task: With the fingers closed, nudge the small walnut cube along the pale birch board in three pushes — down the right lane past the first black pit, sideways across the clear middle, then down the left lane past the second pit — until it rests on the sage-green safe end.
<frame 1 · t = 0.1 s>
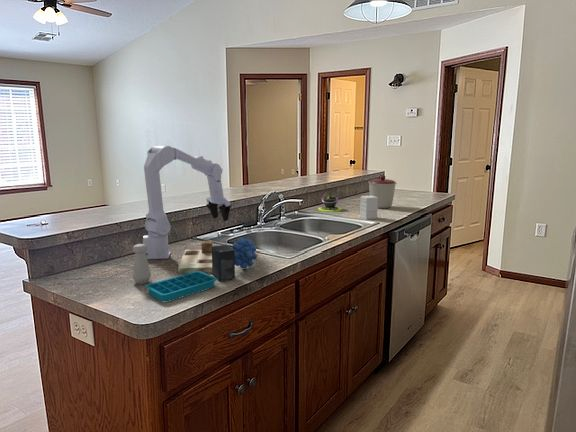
hand: (220, 219, 190), 10 cm above the worktop, tool pointing down, fingers open, 7 cm apart
walnut block: (207, 251, 170), point 2 cm above the worktop, touching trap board
toy cauldron: (329, 209, 270), on the worktop
ice cube tray: (182, 291, 135), on the worktop
canister: (381, 207, 277), on the worktop
salt shaker: (142, 282, 142), on the worktop
supplement box: (368, 218, 244), on the worktop
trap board: (198, 263, 162), on the worktop
grapes: (246, 269, 155), on the worktop
box: (223, 277, 147), on the worktop
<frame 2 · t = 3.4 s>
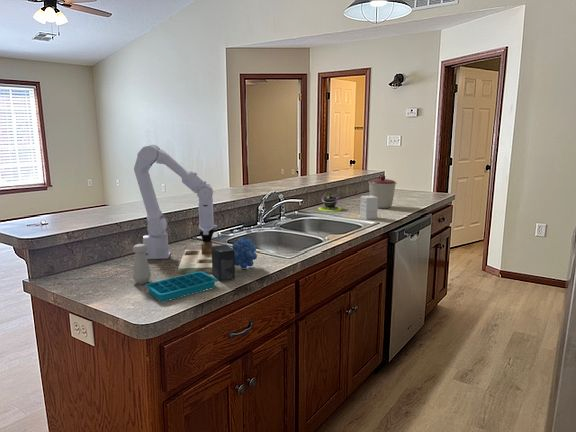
hand: (207, 247, 171), 3 cm above the worktop, tool pointing down, fingers closed
walnut block: (207, 252, 168), point 2 cm above the worktop, touching gripper
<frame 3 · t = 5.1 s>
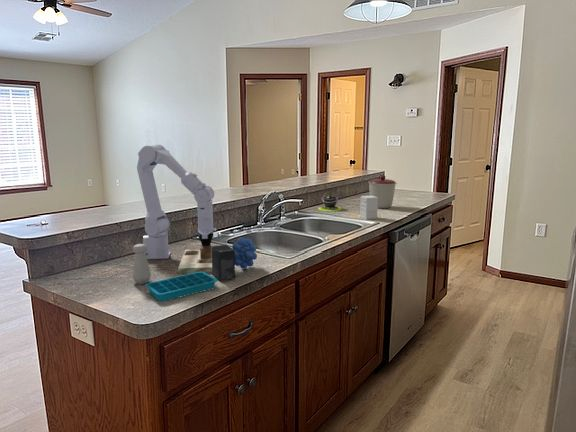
hand: (206, 252, 166), 3 cm above the worktop, tool pointing down, fingers closed
walnut block: (206, 257, 162), point 2 cm above the worktop, touching gripper, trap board
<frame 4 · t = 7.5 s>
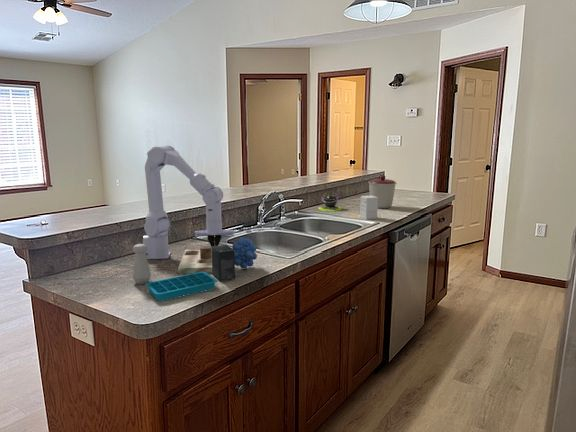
hand: (215, 254, 163), 3 cm above the worktop, tool pointing down, fingers closed
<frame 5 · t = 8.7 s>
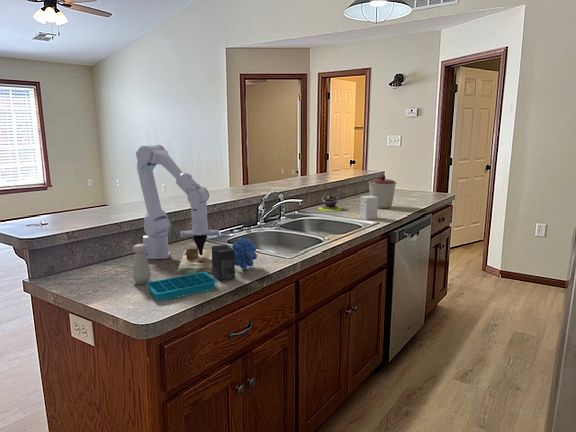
hand: (201, 254, 162), 3 cm above the worktop, tool pointing down, fingers closed
walnut block: (192, 257, 162), point 2 cm above the worktop, touching gripper, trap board
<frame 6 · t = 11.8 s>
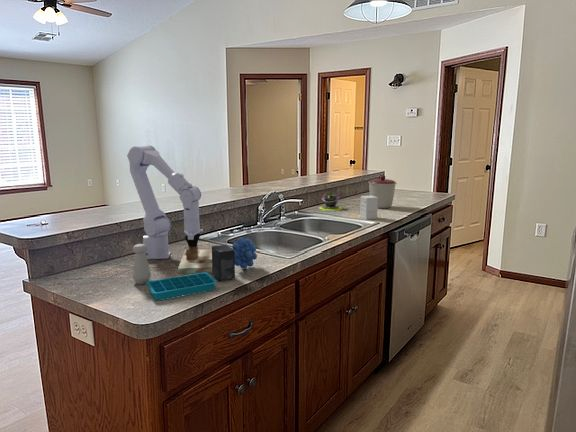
hand: (193, 252, 164), 3 cm above the worktop, tool pointing down, fingers closed
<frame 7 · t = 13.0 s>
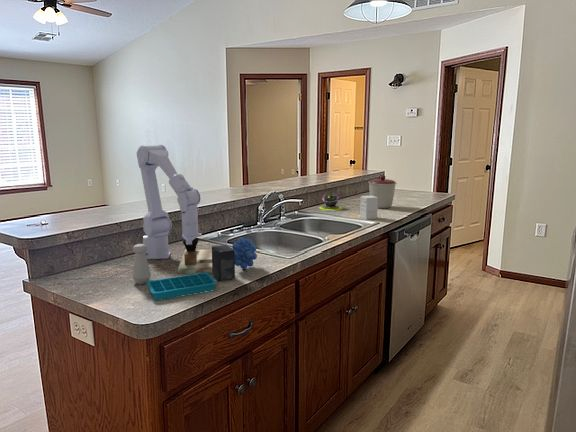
hand: (191, 258, 158), 3 cm above the worktop, tool pointing down, fingers closed
walnut block: (190, 263, 155), point 2 cm above the worktop, touching gripper
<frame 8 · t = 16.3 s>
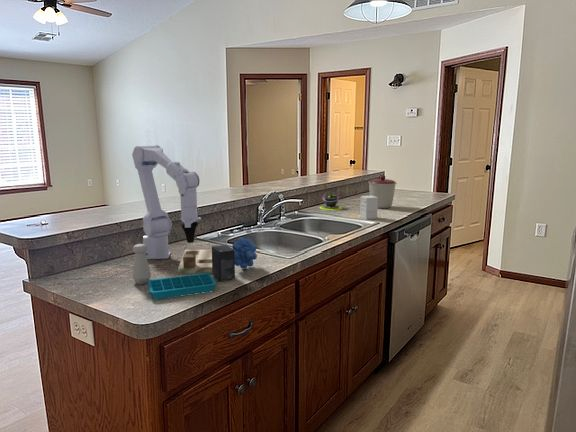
hand: (190, 242, 156), 9 cm above the worktop, tool pointing down, fingers closed
walnut block: (189, 266, 152), point 2 cm above the worktop, touching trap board
at the end: walnut block 1.0 cm from the target spot, point 2.0 cm above the worktop; walnut block tilted 0° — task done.
